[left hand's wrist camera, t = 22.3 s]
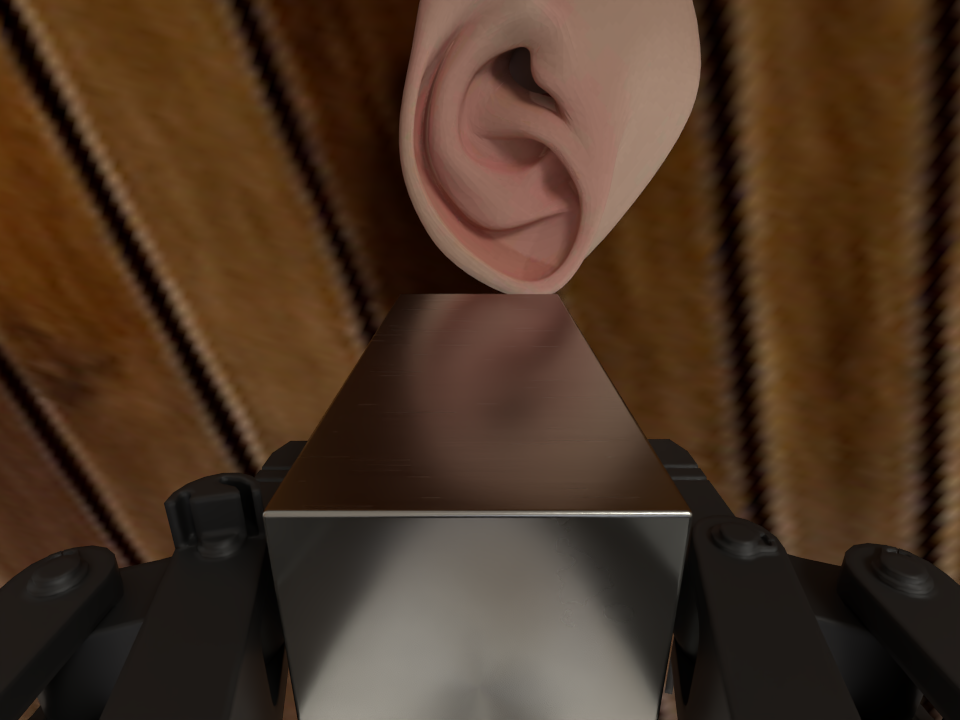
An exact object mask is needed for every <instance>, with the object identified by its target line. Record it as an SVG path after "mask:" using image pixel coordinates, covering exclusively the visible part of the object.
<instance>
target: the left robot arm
mask: <svg viewBox="0 0 960 720" xmlns="http://www.w3.org/2000/svg"><path fill="white" fill-rule="evenodd" d="M647 440H648V441H649V443H650V444H651V446H652V448H653V449H654V451H655V453H656V454H657V456H658V457H659V459H660V461H661V462H662V464H663V466H664V467H665V469H666V470H667V472H668V474H669V475H670V477H671V479H672V480H673V482H674V483H675V485H676V487H677V488H678V490H679V492H680V493H681V495H682V496H683V498H684V500H685V501H686V503H687V504H688V506H689V508H690V509H691V511H692V514H693V515H692V522H691V528H690V534H689V540H688V546H687V552H686V558H685V564H684V570H683V575H682V581H681V587H680V593H679V599H678V605H677V611H676V617H675V623H674V629H673V633H674V640H673V646H672V652H671V658H670V664H669V669H668V675H667V681H666V688H665V693H669V694H672V691H673V686H674V691H675V700H676V708H677V717H678V720H935V719H933V718H932V717H931V716H930V715H929V714H928V712H927V711H926V710H925V709H924V707H923V706H922V705H921V704H920V701H921V699H922V696H923V694H924V696H925V697H926V698H927V699H928V700H929V702H930V703H931V704H932V705H933V706H934V707H935V709H936V710H937V711H938V712H939V713H940V715H941V716H942V717H943V718H942V720H960V585H959V584H957V583H956V582H955V581H954V580H953V579H952V578H950V577H949V576H948V575H947V574H946V573H944V572H943V571H941V570H940V569H938V568H937V567H936V566H934V565H933V564H931V563H930V562H928V561H926V560H924V559H922V558H920V557H918V556H916V555H914V554H912V553H910V552H908V551H905V550H902V549H897V548H896V547H891V546H887V545H880V544H871V543H865V544H859V545H853V546H852V547H851V548H850V549H849V550H847V551H846V553H845V556H844V559H843V563H842V566H837V565H832V564H828V563H823V562H818V561H813V560H809V559H804V558H800V557H796V556H792V555H789V554H787V553H786V550H785V548H784V547H783V546H782V544H781V543H780V541H779V540H778V539H777V537H775V536H774V535H773V534H771V533H770V532H769V531H767V530H766V529H765V528H763V527H761V526H759V525H757V524H755V523H753V522H750V521H748V520H746V519H742V518H738V517H735V516H734V514H733V513H732V512H731V510H730V509H729V507H728V506H727V505H726V503H725V502H724V501H723V499H722V498H721V496H720V495H719V494H718V492H717V491H716V490H715V488H714V487H713V485H712V484H711V483H710V481H709V480H707V479H706V476H705V475H704V473H703V472H702V470H701V469H700V468H698V465H697V464H696V462H695V461H694V459H693V458H692V457H691V455H690V454H689V453H688V451H686V450H685V449H683V448H682V447H680V446H679V445H677V444H676V443H674V442H673V441H671V440H670V439H647ZM306 443H307V441H290V442H288V443H287V444H285V445H284V446H282V447H281V448H279V449H278V450H276V451H275V452H273V453H272V454H271V456H270V457H269V458H268V460H267V461H266V463H265V464H264V465H263V467H262V470H260V471H259V472H258V474H257V475H256V476H255V478H254V477H253V476H250V475H246V474H242V473H221V474H216V475H211V476H207V477H203V478H201V479H198V480H196V481H193V482H190V483H188V484H186V485H185V486H183V487H181V488H180V489H178V490H177V491H175V492H174V493H173V494H172V495H171V496H170V497H169V498H168V499H167V500H166V502H165V503H164V505H165V509H166V513H167V517H168V521H169V525H170V529H171V533H172V537H173V541H174V545H175V551H174V554H173V556H172V557H168V558H165V559H161V560H157V561H153V562H148V563H143V564H138V565H134V566H129V567H124V568H120V569H119V568H118V564H117V561H116V558H115V554H113V553H112V552H111V551H110V550H109V549H108V548H105V547H99V546H84V547H76V548H71V549H67V550H64V551H60V552H57V553H54V554H51V555H49V556H48V557H46V558H44V559H42V560H39V561H37V562H35V563H33V564H31V565H30V566H28V567H27V568H26V569H24V570H23V571H21V572H20V573H19V574H17V575H16V576H14V577H13V578H12V579H11V580H10V581H8V582H7V583H6V584H5V585H4V586H3V587H2V588H0V720H18V719H19V718H20V717H21V716H22V715H23V713H24V712H25V711H26V710H27V709H28V707H29V706H30V705H31V704H32V703H33V701H34V700H35V699H36V698H38V700H39V703H40V707H39V708H38V709H37V710H36V711H35V713H34V714H33V715H32V716H31V717H30V718H29V719H28V720H282V718H283V710H284V701H285V692H286V684H287V675H288V660H287V654H286V649H285V643H284V637H283V631H282V626H281V620H280V614H279V608H278V603H277V597H276V591H275V585H274V580H273V574H272V568H271V562H270V556H269V551H268V545H267V539H266V533H265V528H264V522H263V511H264V510H265V508H266V506H267V505H268V503H269V502H270V500H271V498H272V497H273V495H274V494H275V492H276V491H277V489H278V487H279V486H280V484H281V483H282V481H283V479H284V478H285V476H286V475H287V473H288V471H289V470H290V468H291V467H292V465H293V464H294V462H295V460H296V459H297V457H298V456H299V454H300V452H301V451H302V449H303V448H304V446H305V445H306Z"/></svg>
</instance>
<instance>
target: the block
mask: <svg viewBox="0 0 960 720" xmlns="http://www.w3.org/2000/svg"><path fill="white" fill-rule="evenodd" d="M692 515H693V514H692V511H691V509H690V508H689V506H688V504H687V503H686V501H685V500H684V498H683V496H682V495H681V493H680V492H679V490H678V488H677V487H676V485H675V483H674V482H673V480H672V479H671V477H670V475H669V474H668V472H667V470H666V469H665V467H664V466H663V464H662V462H661V461H660V459H659V457H658V456H657V454H656V453H655V451H654V449H653V448H652V446H651V444H650V443H649V441H648V440H647V438H646V436H645V435H644V433H643V431H642V430H641V428H640V427H639V425H638V423H637V422H636V420H635V419H634V417H633V415H632V414H631V412H630V410H629V409H628V407H627V406H626V404H625V402H624V401H623V399H622V397H621V396H620V394H619V393H618V391H617V389H616V388H615V386H614V384H613V383H612V381H611V380H610V378H609V376H608V375H607V373H606V371H605V370H604V368H603V367H602V365H601V363H600V362H599V360H598V359H597V357H596V355H595V354H594V352H593V350H592V349H591V347H590V346H589V344H588V342H587V341H586V339H585V337H584V336H583V334H582V333H581V331H580V329H579V328H578V326H577V324H576V323H575V321H574V320H573V318H572V316H571V315H570V313H569V311H568V310H567V308H566V307H565V305H564V303H563V302H562V300H561V298H560V297H559V295H558V294H401V295H399V297H398V299H397V300H396V302H395V303H394V305H393V307H392V308H391V310H390V311H389V313H388V315H387V316H386V318H385V319H384V321H383V322H382V324H381V326H380V327H379V329H378V330H377V332H376V334H375V335H374V337H373V338H372V340H371V341H370V343H369V345H368V346H367V348H366V349H365V351H364V353H363V354H362V356H361V357H360V359H359V360H358V362H357V364H356V365H355V367H354V368H353V370H352V372H351V373H350V375H349V376H348V378H347V380H346V381H345V383H344V384H343V386H342V387H341V389H340V391H339V392H338V394H337V395H336V397H335V399H334V400H333V402H332V403H331V405H330V406H329V408H328V410H327V411H326V413H325V414H324V416H323V418H322V419H321V421H320V422H319V424H318V425H317V427H316V429H315V430H314V432H313V433H312V435H311V437H310V438H309V440H308V441H307V443H306V445H305V446H304V448H303V449H302V451H301V452H300V454H299V456H298V457H297V459H296V460H295V462H294V464H293V465H292V467H291V468H290V470H289V471H288V473H287V475H286V476H285V478H284V479H283V481H282V483H281V484H280V486H279V487H278V489H277V491H276V492H275V494H274V495H273V497H272V498H271V500H270V502H269V503H268V505H267V506H266V508H265V510H264V511H263V522H264V528H265V533H266V539H267V545H268V551H269V556H270V562H271V568H272V574H273V580H274V585H275V591H276V597H277V603H278V608H279V614H280V620H281V626H282V631H283V637H284V643H285V649H286V654H287V660H288V666H289V672H290V677H291V683H292V689H293V695H294V701H295V706H296V712H297V718H298V720H658V717H659V711H660V705H661V699H662V693H663V687H664V682H665V676H666V670H667V664H668V658H669V652H670V646H671V640H672V634H673V629H674V623H675V617H676V611H677V605H678V599H679V593H680V587H681V581H682V575H683V570H684V564H685V558H686V552H687V546H688V540H689V534H690V528H691V522H692Z"/></svg>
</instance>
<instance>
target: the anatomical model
mask: <svg viewBox="0 0 960 720" xmlns="http://www.w3.org/2000/svg"><path fill="white" fill-rule="evenodd" d="M700 68H701V55H700V41H699V33H698V25H697V19H696V14H695V10H694V6H693V1H692V0H420V3H419V9H418V15H417V21H416V27H415V33H414V39H413V45H412V50H411V55H410V60H409V65H408V70H407V76H406V81H405V86H404V91H403V97H402V104H401V111H400V123H399V150H400V161H401V167H402V172H403V177H404V181H405V184H406V187H407V190H408V193H409V196H410V199H411V201H412V204H413V206H414V208H415V210H416V212H417V214H418V216H419V218H420V220H421V222H422V224H423V226H424V227H425V229H426V231H427V233H428V234H429V236H430V237H431V238H432V240H433V241H434V243H435V244H436V245H437V247H438V248H439V249H440V250H441V251H442V252H443V253H444V254H445V255H446V256H447V257H448V258H449V259H450V260H451V261H452V262H453V263H454V264H456V265H457V266H458V267H459V268H461V269H462V270H463V271H465V272H466V273H468V274H469V275H471V276H472V277H474V278H475V279H477V280H479V281H480V282H482V283H484V284H486V285H488V286H490V287H492V288H494V289H496V290H498V291H501V292H503V293H506V294H553V293H555V292H556V291H558V290H559V289H560V288H562V287H563V286H564V285H565V284H566V283H567V282H568V281H569V280H570V279H571V278H572V276H573V275H574V274H575V272H576V271H577V270H578V268H579V267H580V265H581V263H582V262H583V260H584V259H585V258H586V257H587V256H588V255H589V254H590V253H591V252H592V251H593V250H594V249H595V247H596V246H597V245H598V244H599V243H600V242H601V241H602V240H603V239H604V238H605V237H606V236H607V234H608V233H609V232H610V231H611V230H612V229H613V227H614V226H615V225H616V224H617V223H618V221H619V220H620V219H621V218H622V216H623V215H624V214H625V213H626V211H627V210H628V209H629V208H630V206H631V205H632V204H633V203H634V201H635V200H636V199H637V197H638V196H639V195H640V194H641V192H642V191H643V190H644V188H645V187H646V186H647V184H648V183H649V182H650V180H651V179H652V178H653V176H654V175H655V173H656V172H657V170H658V169H659V167H660V166H661V165H662V163H663V162H664V160H665V159H666V157H667V155H668V154H669V152H670V151H671V149H672V147H673V146H674V144H675V143H676V141H677V139H678V138H679V136H680V134H681V132H682V130H683V128H684V126H685V124H686V122H687V120H688V117H689V115H690V113H691V111H692V108H693V105H694V102H695V99H696V95H697V91H698V86H699V80H700Z"/></svg>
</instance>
